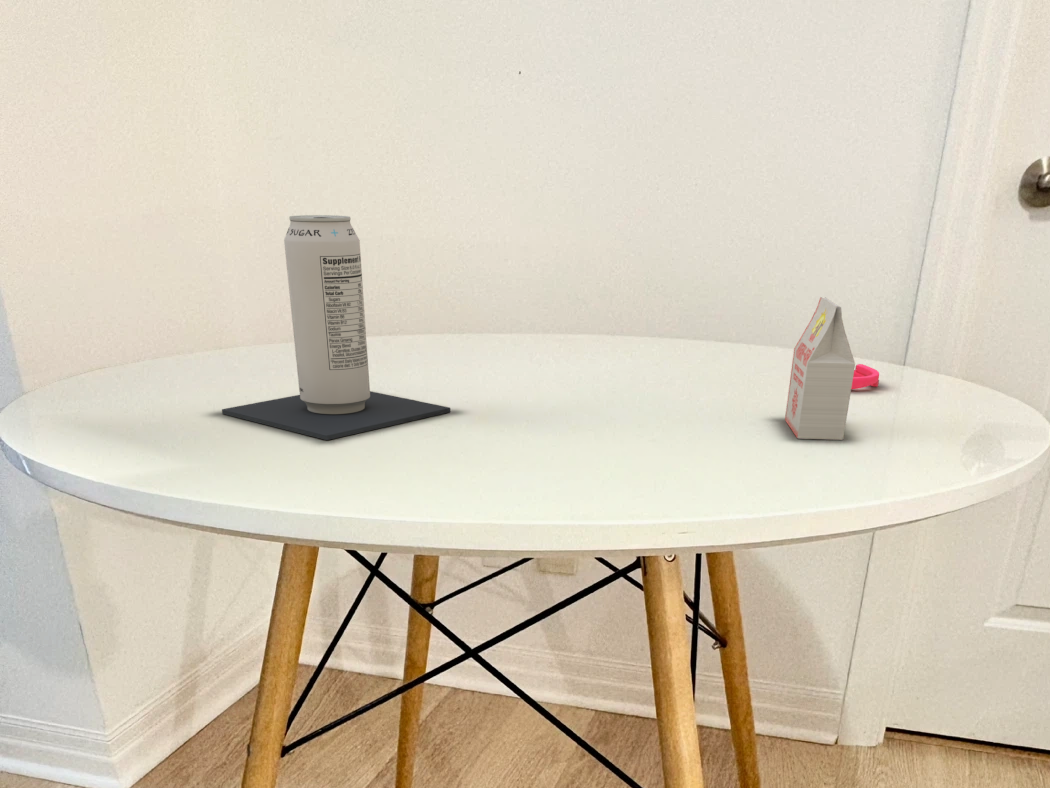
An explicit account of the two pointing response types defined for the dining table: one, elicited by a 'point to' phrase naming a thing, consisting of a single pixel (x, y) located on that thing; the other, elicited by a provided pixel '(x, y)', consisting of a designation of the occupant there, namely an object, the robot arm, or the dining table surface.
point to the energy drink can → (327, 313)
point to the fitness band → (865, 377)
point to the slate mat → (335, 415)
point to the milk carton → (821, 377)
